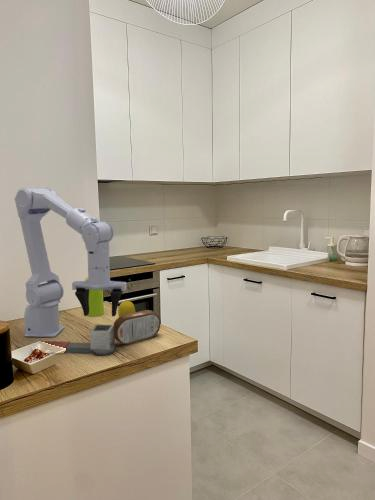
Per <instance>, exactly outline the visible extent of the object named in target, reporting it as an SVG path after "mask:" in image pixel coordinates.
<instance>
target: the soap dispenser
mask: <svg viewBox="0 0 375 500" xmlns="http://www.w3.org/2000/svg"><path fill="white" fill-rule="evenodd" d="M84 281H88V276H87V277H85V280H84ZM104 310H105V309H104V290H94V289H89V314H88V315H87V317H99V316H103V315H104V313H105V311H104Z"/></svg>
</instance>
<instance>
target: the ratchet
mask: <svg viewBox="0 0 375 500" xmlns="http://www.w3.org/2000/svg"><path fill="white" fill-rule="evenodd" d="M40 342H45V343H48V344H51V345H55V346H59V347H63V348H66V351H65V352H64V353H63V354H73V355H75V354H77V355H79V354H81V355H82V354H83V355H84V354H85V355H93V356H96V357H108V356H110V355H112V354H114V353H115V352H116V343H114V344H113V346H112V347H111V349H110V350H98V349H91V344H90V342H70V341H65V340H64V341H62V340H61V341H59V340H58V341H56V340H50V341H49V340H41V341H40Z"/></svg>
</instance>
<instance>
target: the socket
mask: <svg viewBox="0 0 375 500" xmlns="http://www.w3.org/2000/svg"><path fill="white" fill-rule="evenodd" d="M89 340H90V342H89V343H90V344H91V349H98V350H110V349H111V347H112V346H113V344H116V343H115V342H116V340H115V329H114V325H113V324H103V323H102V324H100V323H99V324H95V325H94V326H93V327H92V328H91V329H90V331H89Z"/></svg>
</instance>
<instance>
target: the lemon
mask: <svg viewBox="0 0 375 500" xmlns="http://www.w3.org/2000/svg"><path fill="white" fill-rule="evenodd" d="M117 312H118V318H119V317H120V316H122V315H125V314H130V313H135V312H136V308H135V304H134V303H133V302H132V301H130V300H128V299H125V300H124V301H122V302H121V303H120V304H119V306H118V311H117Z"/></svg>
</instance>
